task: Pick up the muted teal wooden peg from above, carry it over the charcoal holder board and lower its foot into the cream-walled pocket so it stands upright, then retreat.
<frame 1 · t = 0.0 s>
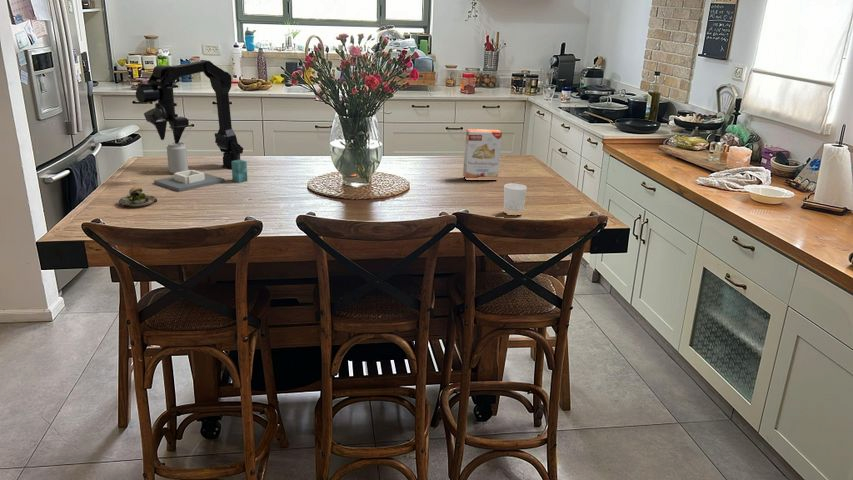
hand: (169, 141, 253), 15 cm above the table, fingers open, 9 cm apart
holder: (189, 182, 254), on the table
peg: (240, 181, 260), on the table
cracker box: (480, 180, 278), on the table
can: (178, 173, 268), on the table
white cup: (513, 214, 235), on the table
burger: (138, 205, 227), on the table
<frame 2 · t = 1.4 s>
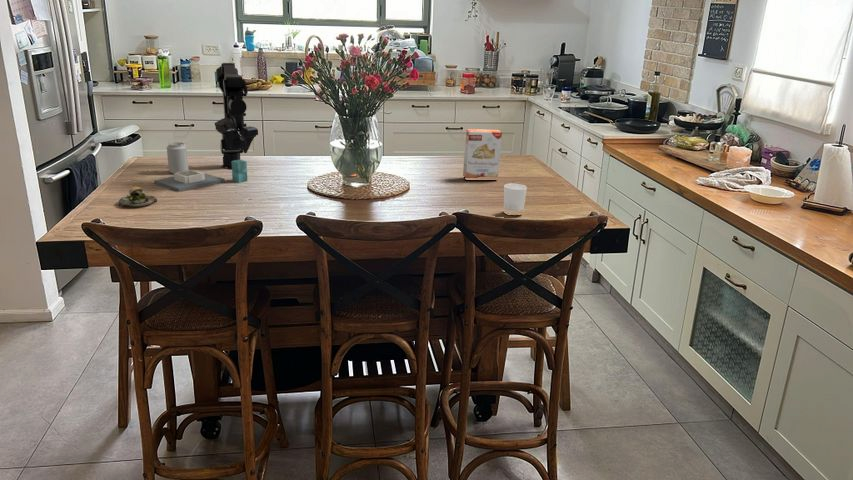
hand: (237, 151, 255), 12 cm above the table, fingers open, 9 cm apart
nothing on the table moved.
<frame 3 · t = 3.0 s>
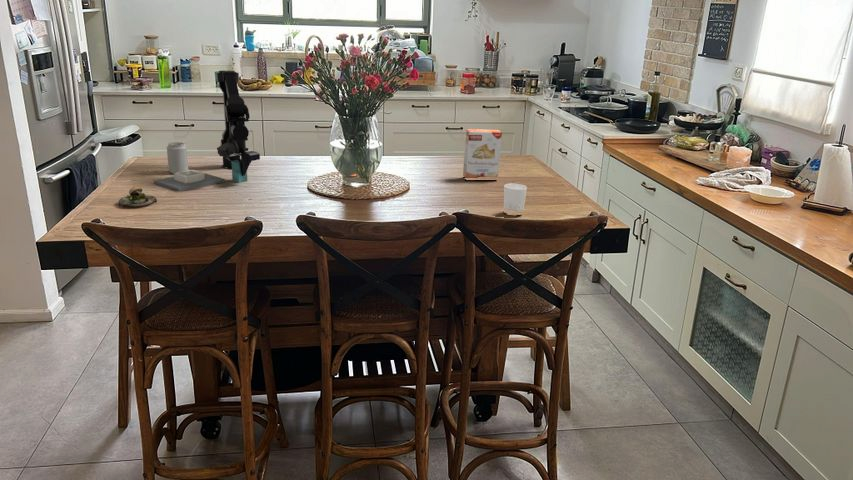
hand: (239, 174, 259), 3 cm above the table, fingers closed on peg, 4 cm apart
peg: (239, 181, 259), on the table, touching gripper
everything else where it was.
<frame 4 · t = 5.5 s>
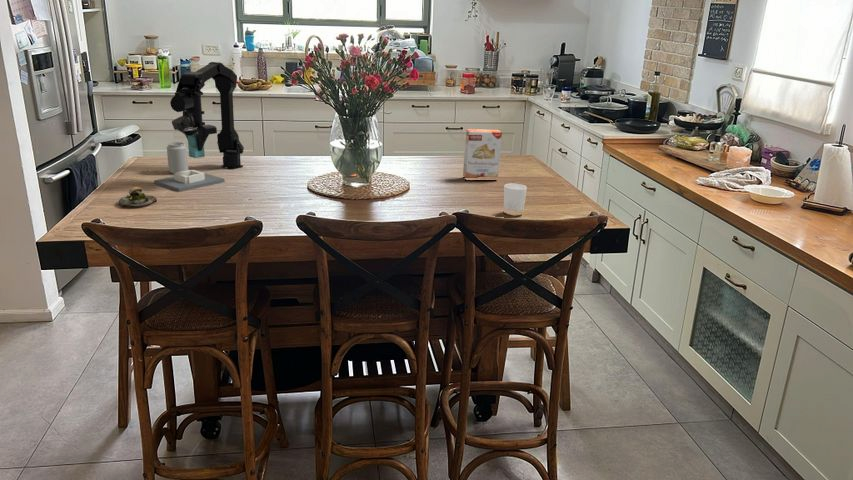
hand: (196, 149, 250), 13 cm above the table, fingers closed on peg, 4 cm apart
peg: (196, 156, 251), point 10 cm above the table, touching gripper
everything else where it was.
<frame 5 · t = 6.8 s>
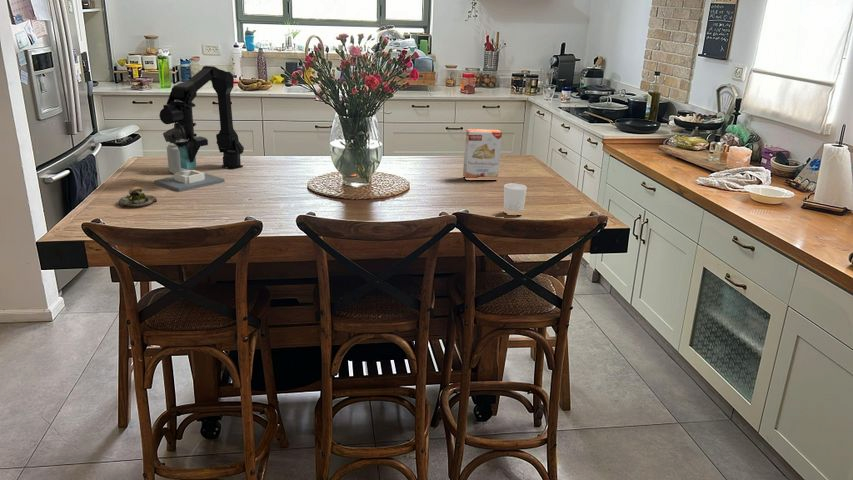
hand: (188, 161, 251), 8 cm above the table, fingers closed on peg, 4 cm apart
peg: (188, 167, 252), point 6 cm above the table, touching gripper
everything else where it was.
when the fingers open (5 cm above the table, at t = 7.9 s): peg drops 1 cm, resting on holder.
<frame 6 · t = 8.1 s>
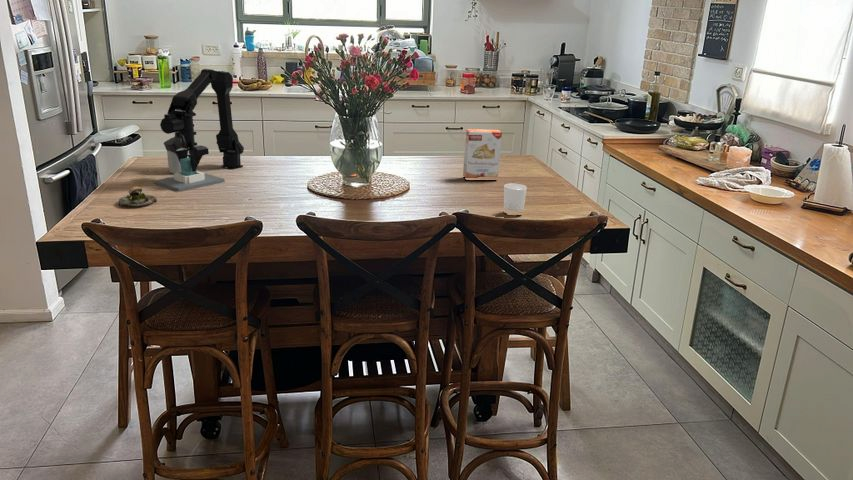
hand: (188, 170, 252), 5 cm above the table, fingers open, 6 cm apart
peg: (189, 179, 254), point 1 cm above the table, touching holder
everything else where it was.
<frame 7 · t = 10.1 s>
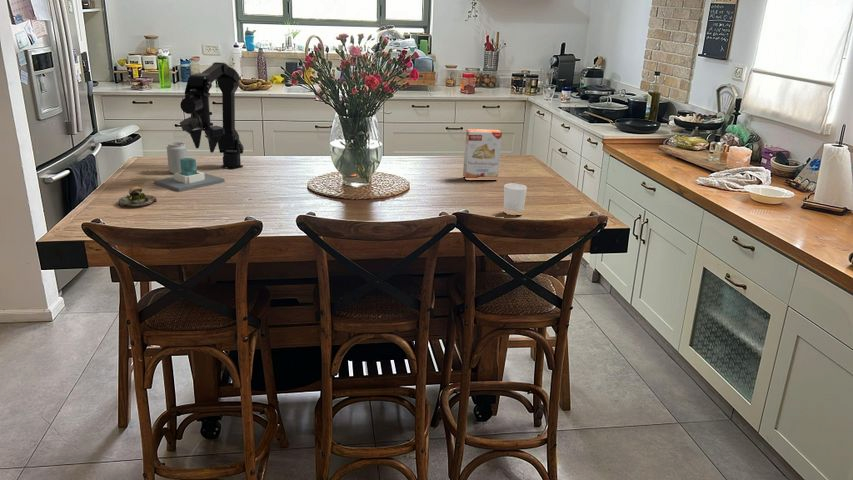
hand: (204, 150, 253), 12 cm above the table, fingers open, 9 cm apart
nothing on the table moved.
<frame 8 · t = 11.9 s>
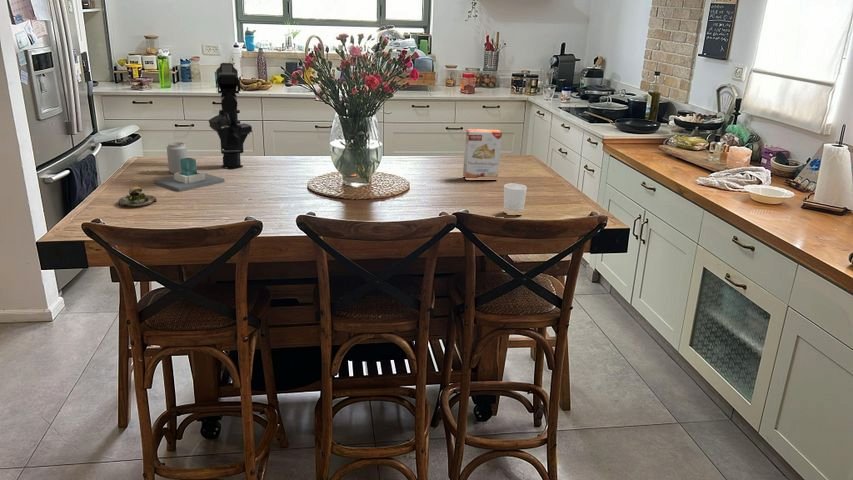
hand: (231, 147, 257), 13 cm above the table, fingers open, 9 cm apart
nothing on the table moved.
at the end: peg 0.0 cm off-centre on the holder, point 1.2 cm above the holder's base; peg tilted 0°; the gripper is holding nothing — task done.
